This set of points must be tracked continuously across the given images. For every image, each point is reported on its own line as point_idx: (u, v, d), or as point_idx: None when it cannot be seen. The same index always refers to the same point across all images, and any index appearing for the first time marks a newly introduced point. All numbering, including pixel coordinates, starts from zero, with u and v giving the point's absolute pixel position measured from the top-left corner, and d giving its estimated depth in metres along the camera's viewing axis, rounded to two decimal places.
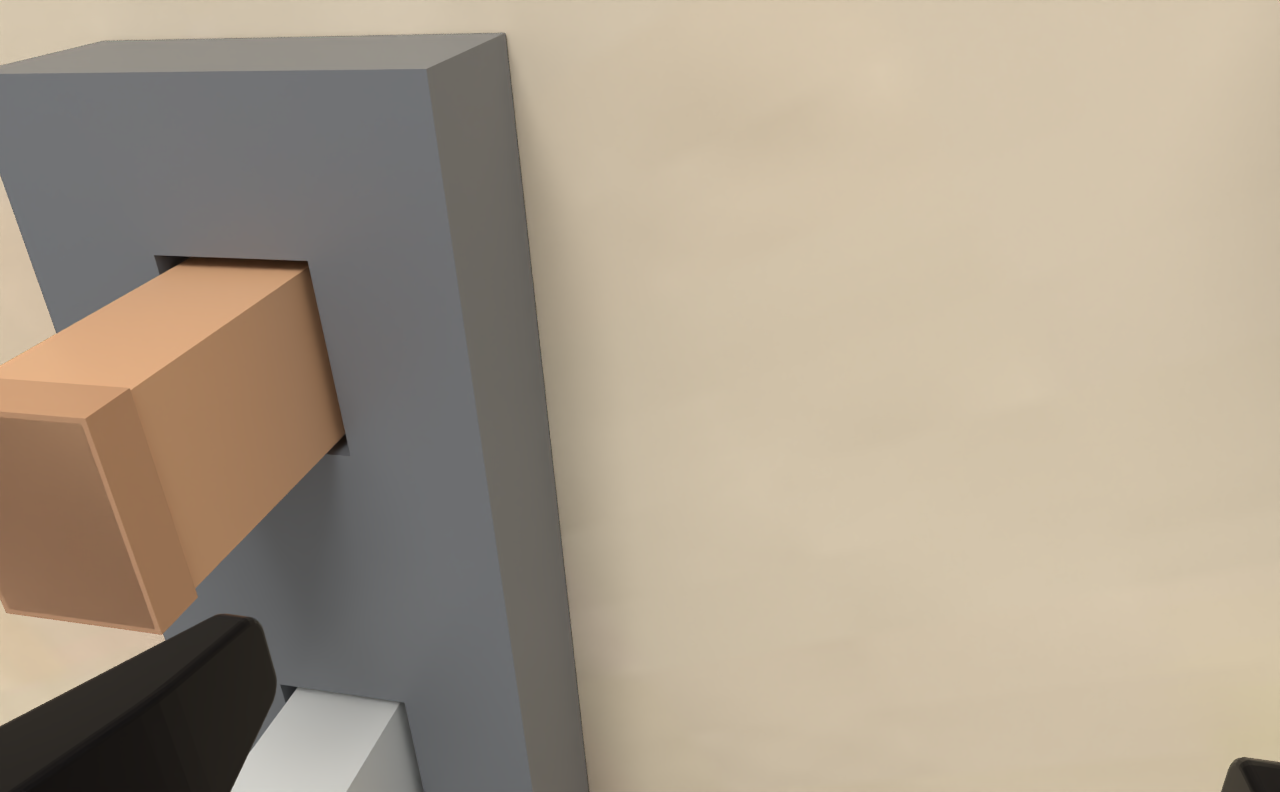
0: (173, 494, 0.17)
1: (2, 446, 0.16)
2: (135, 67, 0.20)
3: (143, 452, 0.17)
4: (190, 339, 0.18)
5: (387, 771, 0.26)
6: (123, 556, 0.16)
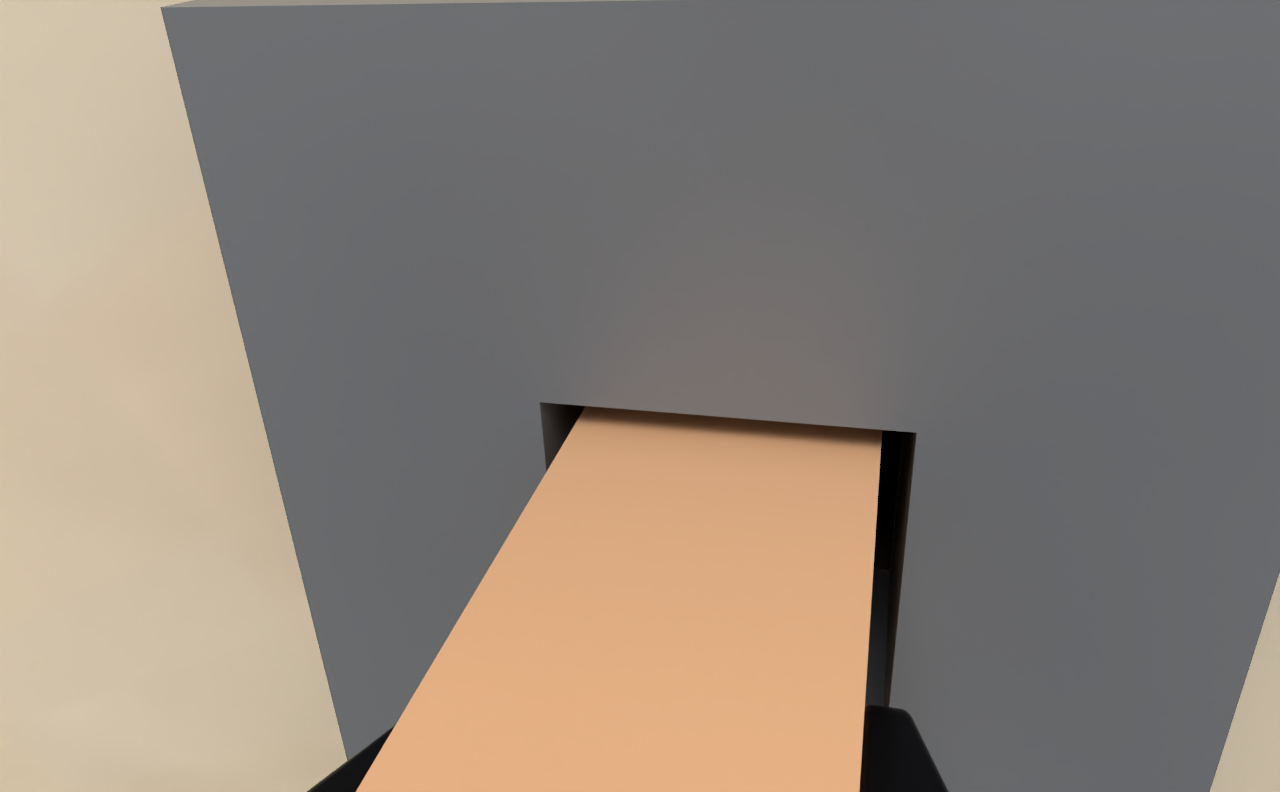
0: None
1: None
2: None
3: None
4: (827, 702, 0.07)
5: None
6: None
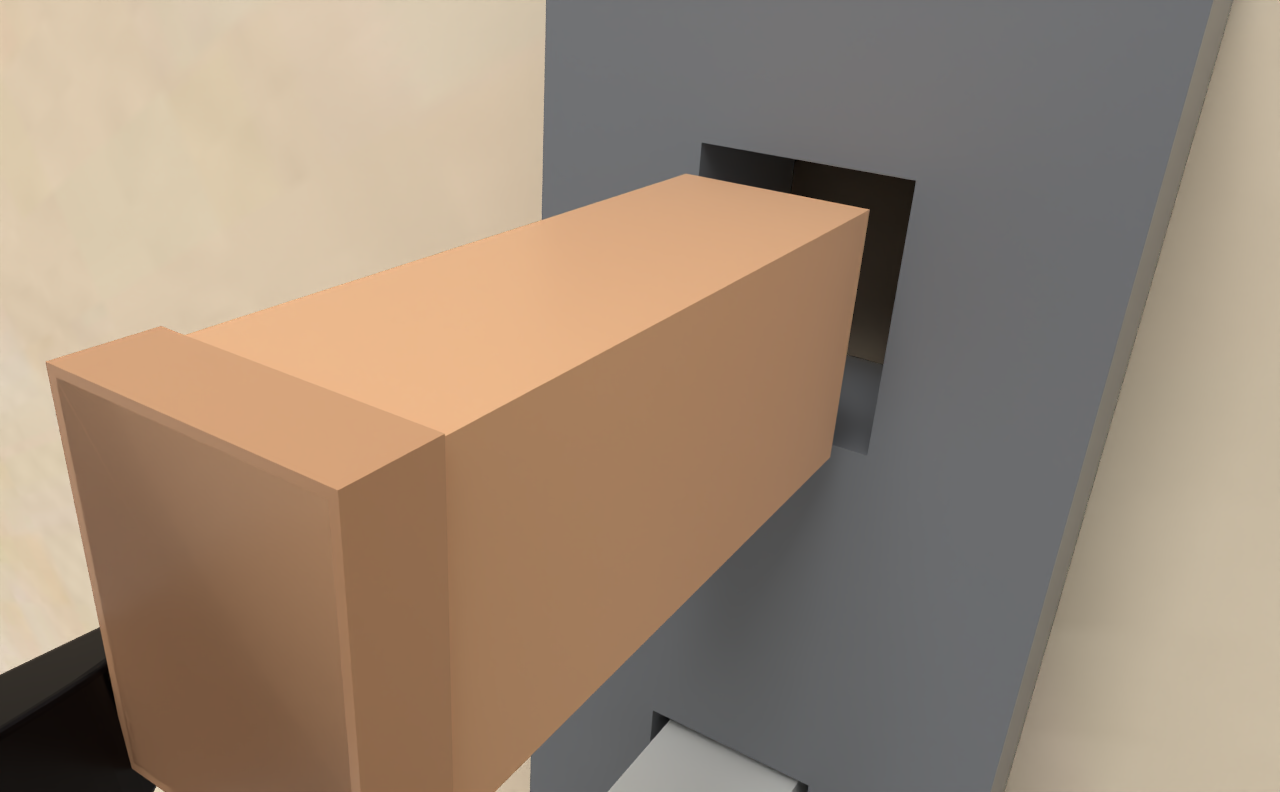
0: (465, 655, 0.08)
1: (171, 489, 0.07)
2: None
3: (435, 567, 0.08)
4: (570, 350, 0.09)
5: None
6: (339, 777, 0.08)
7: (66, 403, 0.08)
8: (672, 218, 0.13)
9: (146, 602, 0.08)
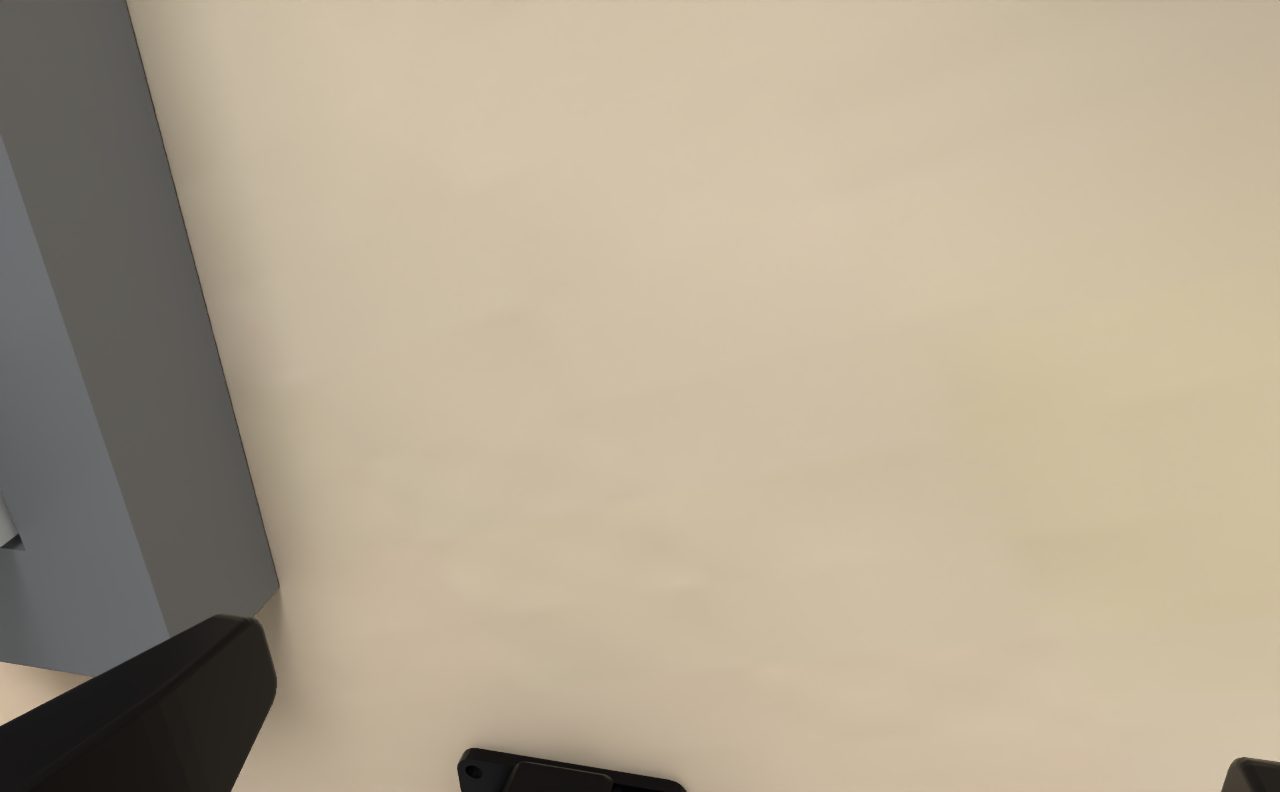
0: None
1: None
2: None
3: None
4: None
5: None
6: None
7: None
8: None
9: None
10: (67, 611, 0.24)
